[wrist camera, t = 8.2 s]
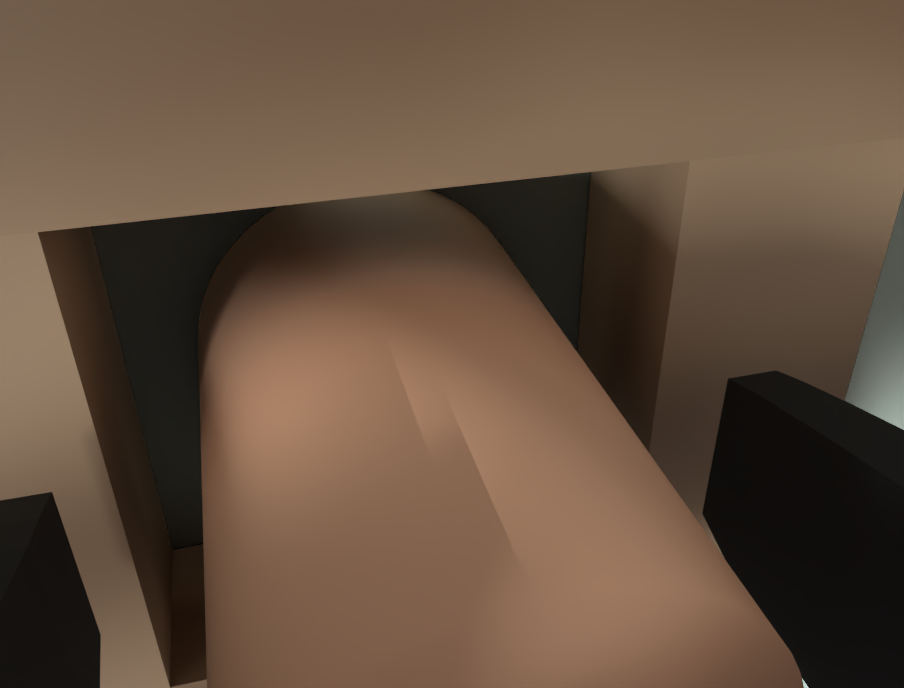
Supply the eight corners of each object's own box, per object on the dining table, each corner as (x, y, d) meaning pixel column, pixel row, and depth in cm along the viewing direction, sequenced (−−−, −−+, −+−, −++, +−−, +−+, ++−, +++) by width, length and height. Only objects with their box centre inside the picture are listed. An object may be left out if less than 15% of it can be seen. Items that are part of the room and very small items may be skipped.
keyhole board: (696, 562, 17) (768, 670, 15) (25, 706, 14) (-2, 861, 12) (837, -163, 10) (1001, -155, 8) (-341, -133, 8) (-534, -110, 6)
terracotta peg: (515, 432, 14) (752, 883, 8) (227, 485, 13) (262, 1036, 7) (522, 161, 11) (865, 530, 6) (167, 204, 10) (145, 694, 5)
